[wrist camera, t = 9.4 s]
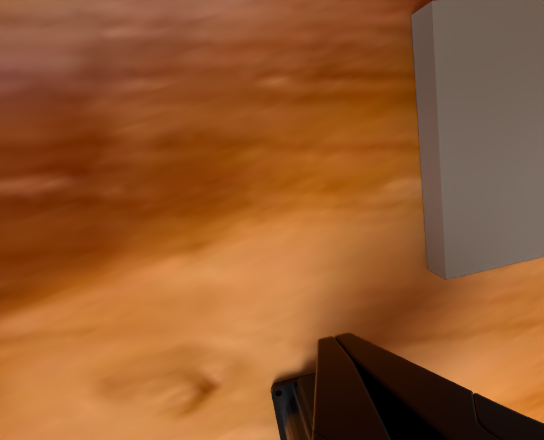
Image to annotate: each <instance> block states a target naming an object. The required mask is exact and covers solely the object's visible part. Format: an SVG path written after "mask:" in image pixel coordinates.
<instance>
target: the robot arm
mask: <svg viewBox="0 0 544 440" xmlns="http://www.w3.org/2000/svg"><path fill="white" fill-rule="evenodd" d="M277 390H281V391H280V392H276V391H277ZM271 394H272V399H273V404H274V409H275V414H276V419H277V424H278V429H279V434H280V439H281V440H544V423H541V422H539V421H537V420H534V419H532V418H529V417H527V416H525V415H522V414H520V413H518V412H516V411H514V410H511V409H509V408H507V407H505V406H503V405H500V404H498V403H496V402H494V401H492V400H490V399H488V398H486V397H483V396H481V395H479V394H477V393H474V394H473V392H472V391H471V390H469V389H466V388H464V387H462V386H460V385H458V384H456V383H454V382H452V381H450V380H448V379H446V378H444V377H441V376H439V375H437V374H435V373H433V372H431V371H429V370H427V369H425V368H423V367H421V366H418V365H416V364H414V363H412V362H410V361H408V360H406V359H404V358H402V357H400V356H398V355H396V354H393V353H391V352H389V351H387V350H385V349H383V348H381V347H379V346H377V345H375V344H373V343H371V342H368V341H366V340H364V339H362V338H360V337H358V336H356V335H354V334H352V333H344V334H339V335H336V336H335V337H333V336H330V337H326V338H321V339H319V340H318V346H317V363H316V373H314V374H310V375H306V376H302V377H299V378H295V379H291V380H287V381H283V382H279V383H276V384H274V385H273V386H272V387H271Z"/></svg>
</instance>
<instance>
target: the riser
mask: <svg viewBox="0 0 544 440" xmlns="http://www.w3.org/2000/svg"><path fill="white" fill-rule="evenodd" d="M411 23H412V39H413V54H414V69H415V85H416V100H417V116H418V131H419V147H420V162H421V177H422V193H423V208H424V224H425V239H426V255H427V269H428V270H430V271H432V272H433V273H435V274H437V275H438V276H440V277H442V278H444V279H445V280H448V279H452V278H457V277H461V276H465V275H469V274H474V273H478V272H482V271H486V270H491V269H495V268H499V267H503V266H508V265H512V264H516V263H520V262H525V261H529V260H533V259H537V258H542V257H544V0H436V1H431V2H430V3H428V4H427V5H425V6H424V7H422V8H421V9H419V10H418V11H416V12H415V13H414V14H412V15H411Z"/></svg>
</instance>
